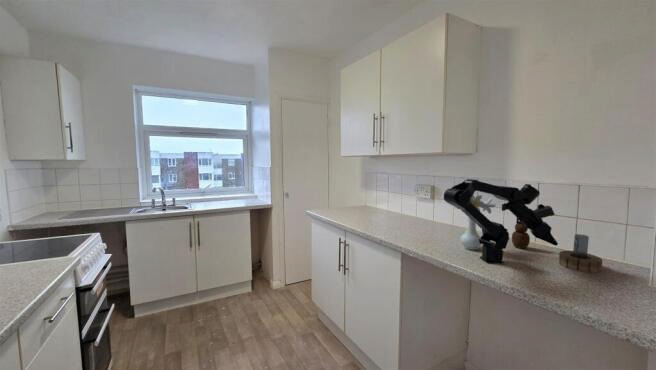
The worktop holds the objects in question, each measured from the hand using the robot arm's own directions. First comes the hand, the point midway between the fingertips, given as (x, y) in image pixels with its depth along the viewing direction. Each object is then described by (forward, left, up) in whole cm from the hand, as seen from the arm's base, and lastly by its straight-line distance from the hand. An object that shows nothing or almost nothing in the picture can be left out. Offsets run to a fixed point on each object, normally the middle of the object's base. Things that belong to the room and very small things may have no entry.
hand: (553, 241), depth 110 cm
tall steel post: (+8, -3, -9) cm, 12 cm away
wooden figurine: (0, +19, -9) cm, 21 cm away
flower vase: (-22, +20, -9) cm, 31 cm away
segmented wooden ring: (+8, -3, -9) cm, 12 cm away
